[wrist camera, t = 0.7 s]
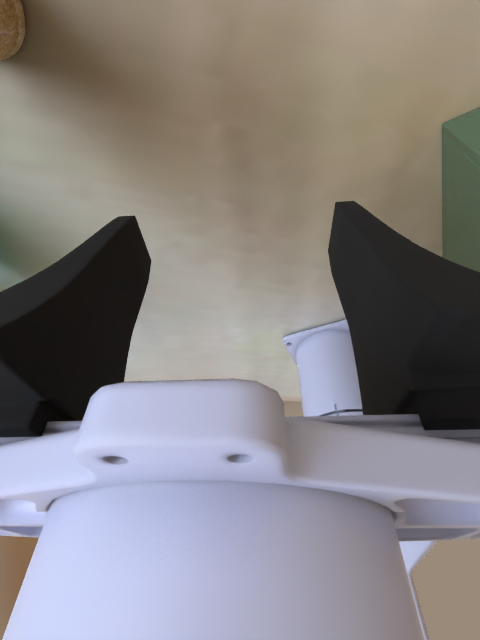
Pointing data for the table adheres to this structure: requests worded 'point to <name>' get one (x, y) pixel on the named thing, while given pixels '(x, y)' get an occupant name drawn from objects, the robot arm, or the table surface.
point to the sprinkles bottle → (11, 27)
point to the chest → (461, 189)
